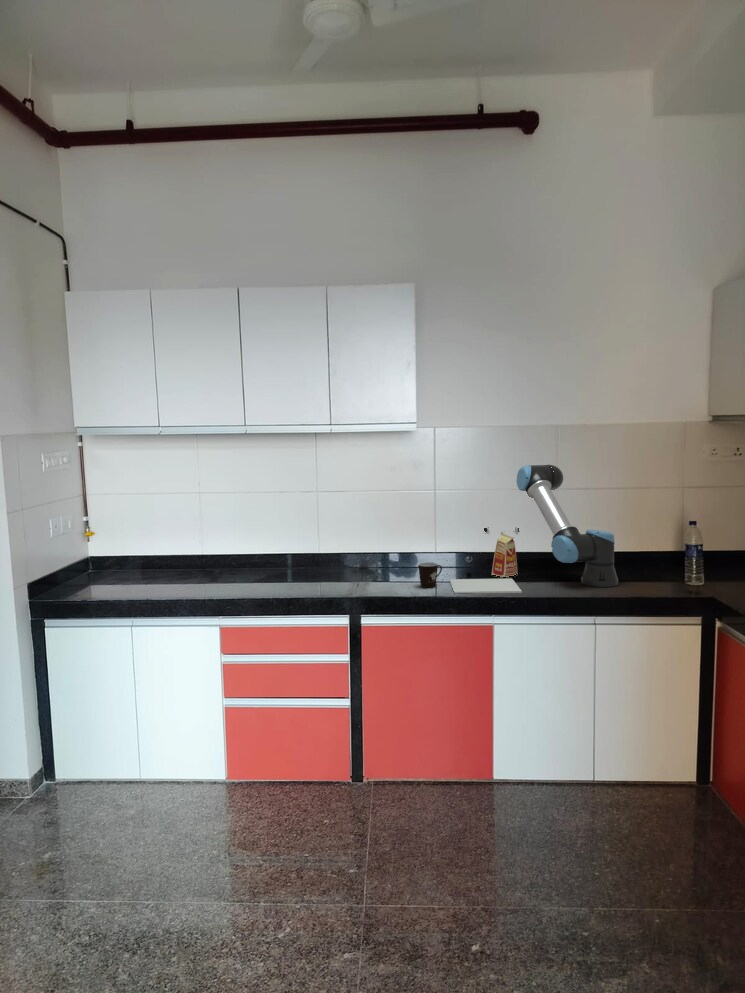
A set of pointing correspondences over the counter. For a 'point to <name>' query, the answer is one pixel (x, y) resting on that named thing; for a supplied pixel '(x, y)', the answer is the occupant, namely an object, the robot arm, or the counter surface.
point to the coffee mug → (428, 574)
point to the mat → (484, 586)
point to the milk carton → (505, 557)
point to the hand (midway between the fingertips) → (502, 531)
